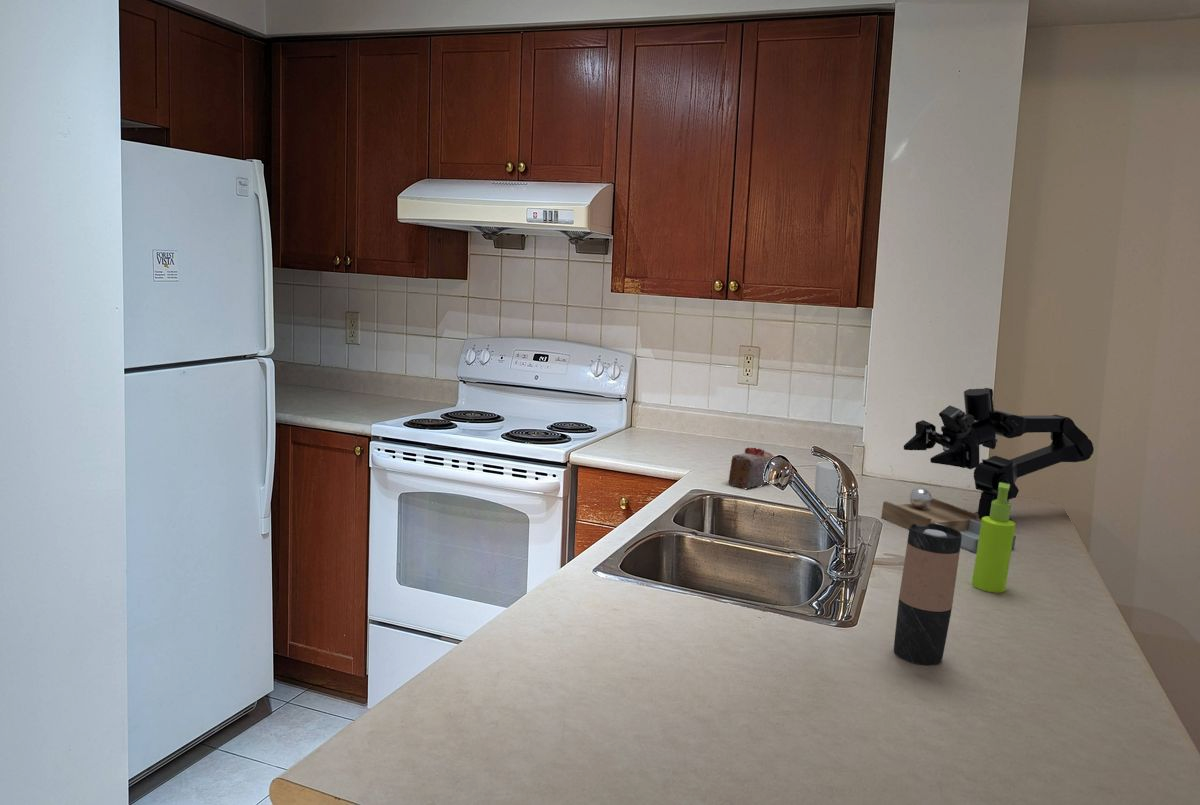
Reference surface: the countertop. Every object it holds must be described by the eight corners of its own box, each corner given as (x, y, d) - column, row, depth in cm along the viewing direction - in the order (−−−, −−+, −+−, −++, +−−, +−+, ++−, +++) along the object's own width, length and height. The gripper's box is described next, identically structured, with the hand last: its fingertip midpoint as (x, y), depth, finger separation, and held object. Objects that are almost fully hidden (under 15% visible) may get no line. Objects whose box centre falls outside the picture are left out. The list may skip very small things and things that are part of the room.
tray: (970, 532, 212) (972, 519, 211) (1013, 549, 201) (1016, 536, 201) (932, 535, 206) (933, 522, 206) (974, 553, 196) (976, 539, 195)
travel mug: (937, 671, 136) (957, 541, 133) (885, 656, 140) (903, 529, 137) (948, 654, 142) (967, 530, 139) (898, 640, 146) (915, 519, 143)
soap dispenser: (1005, 584, 177) (1021, 483, 174) (1004, 595, 171) (1021, 491, 168) (973, 577, 180) (988, 478, 177) (970, 588, 174) (986, 485, 170)
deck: (931, 514, 225) (933, 498, 224) (976, 531, 213) (979, 515, 212) (881, 517, 218) (883, 501, 217) (925, 536, 206) (927, 519, 205)
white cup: (842, 502, 229) (846, 463, 228) (847, 511, 222) (852, 470, 220) (810, 499, 230) (814, 460, 228) (814, 507, 222) (818, 467, 221)
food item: (750, 477, 249) (754, 441, 247) (777, 483, 244) (781, 447, 242) (725, 485, 238) (728, 447, 236) (752, 491, 233) (756, 454, 231)
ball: (919, 504, 221) (922, 484, 220) (934, 510, 217) (937, 490, 216) (903, 505, 219) (906, 485, 218) (919, 511, 215) (922, 490, 214)
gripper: (942, 393, 224) (889, 410, 219) (1000, 415, 208) (944, 434, 203) (943, 435, 228) (891, 453, 223) (1000, 460, 211) (945, 479, 207)
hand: (917, 454), depth 214 cm, fingers open, 9 cm apart
